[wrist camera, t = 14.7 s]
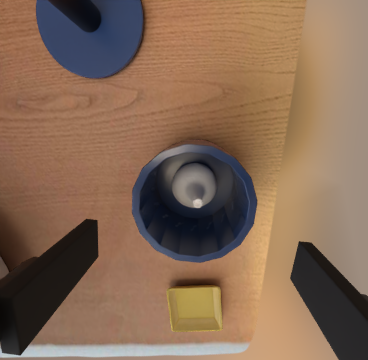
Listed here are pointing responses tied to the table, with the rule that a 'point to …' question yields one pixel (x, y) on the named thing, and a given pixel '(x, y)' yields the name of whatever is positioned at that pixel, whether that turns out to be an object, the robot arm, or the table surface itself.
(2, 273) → the bowl
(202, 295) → the yellow square tray
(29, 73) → the table surface
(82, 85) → the table surface
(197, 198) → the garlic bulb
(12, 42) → the table surface
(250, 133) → the table surface
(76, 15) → the lid
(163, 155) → the pot
